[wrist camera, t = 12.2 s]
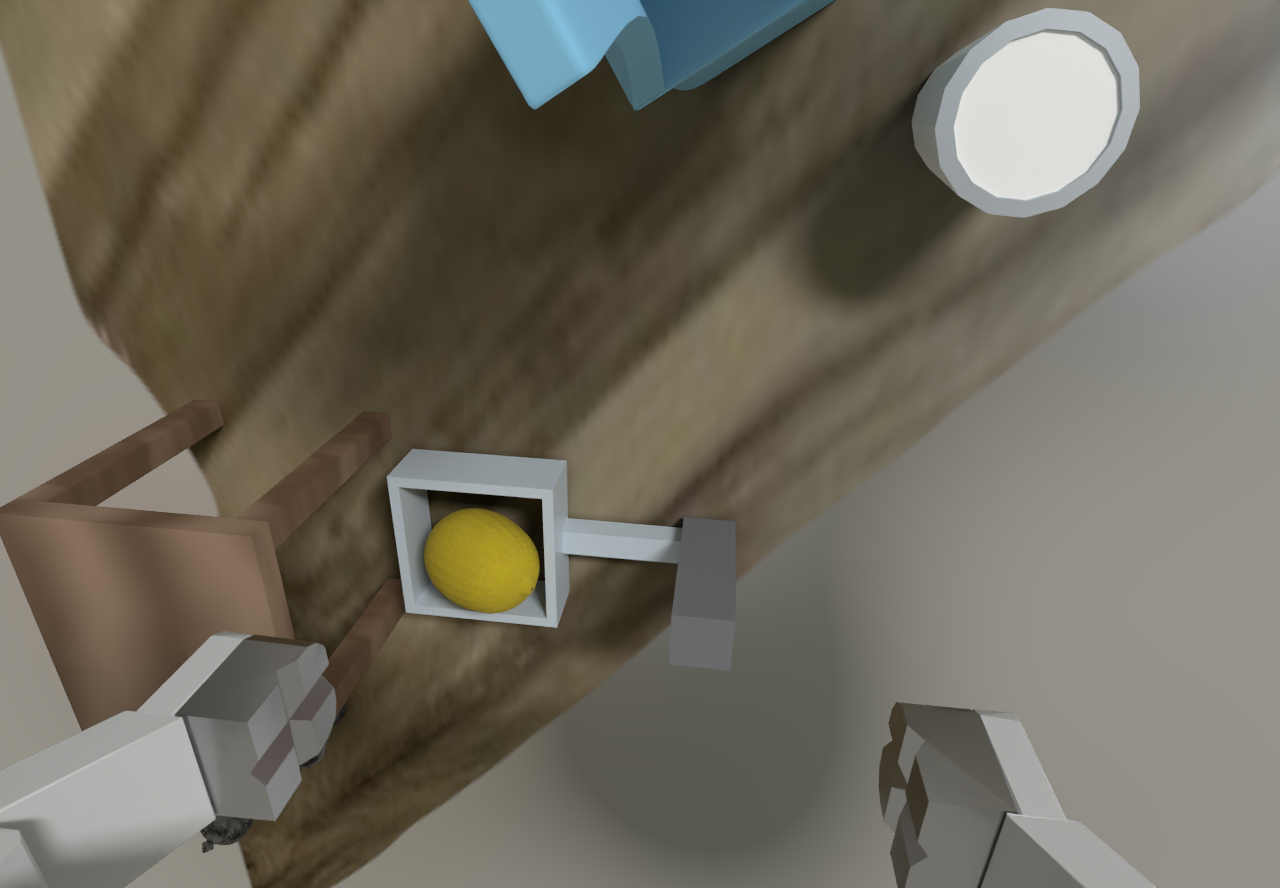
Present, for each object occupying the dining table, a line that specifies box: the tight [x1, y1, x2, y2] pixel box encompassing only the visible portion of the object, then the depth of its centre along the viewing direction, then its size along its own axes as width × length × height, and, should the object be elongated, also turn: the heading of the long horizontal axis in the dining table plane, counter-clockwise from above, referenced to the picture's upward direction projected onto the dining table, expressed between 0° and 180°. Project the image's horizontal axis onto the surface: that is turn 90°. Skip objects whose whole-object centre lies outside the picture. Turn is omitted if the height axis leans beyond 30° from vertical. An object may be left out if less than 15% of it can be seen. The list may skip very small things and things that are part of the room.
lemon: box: [424, 508, 540, 614], centre depth 41 cm, size 6×6×8 cm
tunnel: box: [0, 400, 406, 763], centre depth 40 cm, size 12×13×13 cm
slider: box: [387, 449, 736, 670], centre depth 40 cm, size 19×9×9 cm, turn 88°
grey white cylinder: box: [911, 8, 1140, 218], centre depth 29 cm, size 7×7×7 cm
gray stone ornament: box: [200, 703, 346, 853], centre depth 48 cm, size 6×6×12 cm
